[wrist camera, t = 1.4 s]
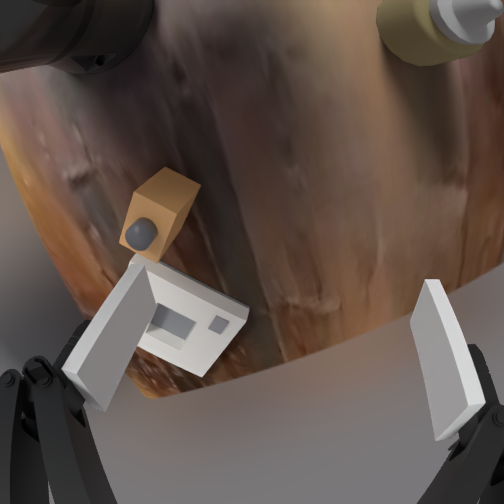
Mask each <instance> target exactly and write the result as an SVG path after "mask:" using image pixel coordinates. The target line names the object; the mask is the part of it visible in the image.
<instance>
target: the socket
mask: <svg viewBox="0 0 504 504" xmlns="http://www.w3.org/2000/svg"><path fill="white" fill-rule="evenodd" d="M131 264H139V265H145V268H146V271H147V275H148V278H149V282H150V285H151V289H152V292H153V295H154V299H155V302H156V305H157V308H156V310H155V312H154V314H153V316H152V318H151V320H150V322H149V324H148V326H147V327H146V329H145V331H144V333H143V335H142V337H141V339H140V341H139V343H138V345H137V346H139V347H141V348H142V349H144V350H146V351H148V352H150V353H152V354H154V355H156V356H158V357H160V358H162V359H164V360H166V361H168V362H170V363H172V364H174V365H176V366H178V367H181V368H183V369H185V370H187V371H189V372H191V373H193V374H196V375H198V376H200V377H203V375H204V374H205V373H206V372H207V370H208V369H209V368H210V367H211V365H212V364H213V363H214V362H215V361H216V359H217V358H218V357H219V356H220V354H221V353H222V352H223V350H224V349H225V348H226V347H227V345H228V344H229V343H230V342H231V340H232V339H233V338H234V337H235V335H236V334H237V333H238V331H239V330H240V329H241V328H242V326H243V325H244V324H245V323H246V321H247V317H248V313H249V309H250V307H249V306H247V305H245V304H243V303H241V302H239V301H237V300H235V299H233V298H231V297H229V296H227V295H225V294H223V293H221V292H219V291H217V290H215V289H213V288H211V287H209V286H207V285H205V284H203V283H202V282H200V281H198V280H196V279H194V278H192V277H190V276H188V275H186V274H184V273H182V272H180V271H178V270H177V269H175V268H173V267H171V266H169V265H167V264H165V263H163V262H162V261H160V260H159V262H158V263H157V264H156V263H154V262H153V261H151V260H149V259H147V258H145V257H143V256H142V255H140V254H138V253H136V254H135V255H134V257H133V258H132V259H131V260H130V263H129V266H128V268H129V267H130V265H131Z"/></svg>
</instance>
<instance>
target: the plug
mask: <svg viewBox="0 0 504 504" xmlns="http://www.w3.org/2000/svg"><path fill="white" fill-rule="evenodd" d="M200 187H201V185H200V184H198V183H196V182H194V181H192V180H191V179H189V178H187V177H185V176H183V175H181V174H179V173H177V172H175V171H173V170H171V169H169V168H167V167H164V168H163V169H161V170H160V171H159V172H158V173H156V174H155V175H154V176H152V177H151V178H150V179H149V180H147V181H146V182H145V183H144V184H142V185H141V186H140V187H139V188H137V189H136V190H135V191H134V193H133V196H132V199H131V203H130V206H129V209H128V213H127V216H126V219H125V223H124V227H123V230H122V234H121V237H120V241H119V243H120V244H122V245H124V246H125V247H127V248H129V249H131V250H133V251H134V252H136V253H138V254H140V255H142V256H143V257H145V258H147V259H149V260H151V261H153V262H154V263H156V264H157V263H158V262H159V260H160V259H161V257H162V256H163V254H164V253H165V252H166V250H167V249H168V247H169V246H170V244H171V243H172V242H173V240H174V239H175V237H176V236H177V234H178V233H179V232H180V230H181V229H182V226H183V224H184V222H185V219H186V217H187V215H188V213H189V211H190V208H191V206H192V204H193V202H194V199H195V197H196V195H197V193H198V191H199V189H200Z"/></svg>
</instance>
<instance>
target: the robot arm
mask: <svg viewBox="0 0 504 504" xmlns="http://www.w3.org/2000/svg"><path fill="white" fill-rule="evenodd" d="M152 9H153V0H0V73H5V72H9V71H14V70H19V69H24V68H30V67H36V66H41V65H49V66H52V67H55V68H58V69H60V70H63V71H66V72H69V73H73V74H90V73H97V72H101V71H105V70H107V69H110V68H112V67H114V66H115V65H117V64H118V63H120V62H121V61H123V60H124V59H125V58H126V57H127V56H128V55H129V54H130V53H131V52H132V51H133V50H134V49H135V48H136V46H137V45H138V44H139V42H140V41H141V39H142V37H143V36H144V34H145V32H146V30H147V27H148V25H149V22H150V19H151V15H152ZM156 308H157V305H156V302H155V299H154V295H153V292H152V289H151V285H150V282H149V278H148V275H147V271H146V268H145V265H139V264H131V265H130V267H129V268H128V269H127V271H126V272H125V273H124V275H123V276H122V278H121V279H120V280H119V282H118V283H117V285H116V286H115V287H114V289H113V290H112V292H111V293H110V295H109V296H108V297H107V299H106V300H105V302H104V303H103V305H102V306H101V308H100V309H99V311H98V312H97V314H96V315H95V317H94V318H93V320H92V321H91V320H85V321H84V322H83V323H82V324H80V325H79V326H78V327H77V329H76V330H75V332H74V333H73V335H72V337H71V338H70V339H69V341H68V344H66V345H65V347H64V348H63V350H62V351H61V353H60V355H59V356H58V358H57V360H56V361H55V363H54V364H53V366H51V364H50V363H49V362H48V360H47V359H46V358H45V357H43V356H35V357H33V358H31V359H29V360H28V361H27V362H26V363H25V365H24V367H23V370H22V374H23V375H24V376H25V377H22V376H21V374H20V373H19V372H18V371H17V370H15V369H9V370H7V371H5V372H4V373H3V374H2V375H1V377H0V504H49V493H48V492H49V491H48V481H49V485H50V488H51V492H52V495H53V499H54V502H55V504H117V501H116V499H115V497H114V494H113V492H112V489H111V487H110V485H109V482H108V479H107V477H106V474H105V472H104V469H103V466H102V464H101V461H100V457H99V455H98V452H97V449H96V446H95V442H94V439H93V436H92V433H91V429H90V426H89V422H88V419H87V415H86V412H85V409H84V407H83V404H84V402H85V400H86V402H87V403H88V404H89V405H90V406H91V407H92V408H95V409H98V410H101V411H104V412H105V411H106V409H107V407H108V405H109V403H110V401H111V398H112V397H113V394H114V392H115V390H116V388H117V386H118V384H119V382H120V379H121V378H122V375H123V373H124V371H125V369H126V367H127V365H128V363H129V361H130V359H131V357H132V355H133V353H134V351H135V349H136V347H137V345H138V343H139V341H140V339H141V337H142V335H143V333H144V331H145V329H146V327H147V326H148V324H149V322H150V320H151V318H152V316H153V314H154V312H155V310H156ZM410 326H411V329H412V333H413V337H414V341H415V344H416V348H417V352H418V356H419V360H420V364H421V368H422V373H423V377H424V382H425V387H426V391H427V396H428V401H429V407H430V412H431V417H432V423H433V429H434V436H435V440H436V441H437V440H443V439H449V438H452V437H453V436H454V435H455V434H456V433H457V432H458V433H459V439H458V440H457V441H456V442H455V443H454V444H453V445H451V446H450V448H449V449H448V450H449V451H450V450H451V449H452V448H453V449H452V451H451V452H450V454H449V456H448V457H447V459H446V461H445V462H444V464H443V466H442V467H441V469H440V470H439V472H438V474H437V475H436V477H435V478H434V480H433V481H432V483H431V484H430V486H429V487H428V489H427V490H426V492H425V493H424V494H423V496H422V497H421V498H420V500H419V501H418V503H417V504H477V502H478V500H479V499H480V500H479V504H504V406H503V405H501V404H500V403H499V400H498V397H497V394H496V390H495V387H494V384H493V381H492V378H491V375H490V374H489V370H488V367H487V365H486V362H485V359H484V356H483V354H482V352H481V351H480V349H479V348H478V347H477V346H476V345H475V344H468V345H467V344H466V342H465V339H464V336H463V334H462V331H461V329H460V327H459V324H458V321H457V319H456V317H455V314H454V312H453V309H452V307H451V305H450V303H449V300H448V298H447V296H446V294H445V291H444V289H443V287H442V285H441V283H440V281H439V280H433V279H425V281H424V284H423V287H422V290H421V292H420V295H419V298H418V301H417V304H416V306H415V309H414V312H413V314H412V317H411V319H410ZM21 417H22V418H21Z"/></svg>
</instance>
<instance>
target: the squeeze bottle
mask: <svg viewBox="0 0 504 504" xmlns="http://www.w3.org/2000/svg"><path fill="white" fill-rule="evenodd" d="M503 12H504V7H503V4H502V2H501V1H500V0H383V1H382V2H381V4H380V5H379V6H378V8H377V17H376V24H377V27H378V31H379V34H380V37H381V39H382V40H383V42H384V43H385V44H386V46H387V47H388V49H389V50H390V51H391V52H392V53H394V54H395V55H396V56H398V57H399V58H400V59H402V60H403V61H405V62H408V63H411V64H414V65H417V66H433V65H437V64H441V63H445V62H449V61H453V60H457V59H461V58H466V57H469V56H471V55H473V54H475V53H477V52H479V51H480V49H481V48H482V46H483V45H484V43H485V42H486V41H488V40H489V39H490V38H491V36H492V34H493V33H494V24H495V20H494V19H495V18H497V17H498V16H500V15H501V14H503Z"/></svg>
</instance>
